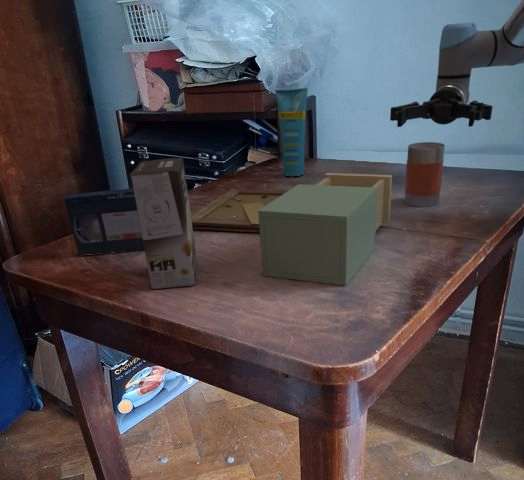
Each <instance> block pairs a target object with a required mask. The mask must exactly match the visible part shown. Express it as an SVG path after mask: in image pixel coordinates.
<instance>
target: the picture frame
mask: <svg viewBox="0 0 524 480" xmlns="http://www.w3.org/2000/svg"><path fill="white" fill-rule="evenodd" d="M289 190H290V189H265V188H263V189H262V188H259V189H258V188H232V189H229V190H228V191H227V192H225V193H224V194H222V195H220V196H219V197H217V198H216V199H214V200H213V201H212V202H210V203H208V204H206V205H205V206H204V207H201V209H199V210H198V211H195V213H193V214H191V221H192V228H193V230H202V231H203V230H205V231H221V232H222V231H223V232H224V231H225V232H241V233H259V234H260V229H259V215H258V210H260V209H261V208H263V207H265V206H266V205H268V204H269V203H271V202H272V201H274V200H275V199H277V198H278V197H280V196H281V195H283V194H284V193H286V192H287V191H289Z"/></svg>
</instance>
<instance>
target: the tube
mask: <svg viewBox="0 0 524 480" xmlns="http://www.w3.org/2000/svg"><path fill="white" fill-rule="evenodd" d="M274 93H275V98H276V105H277V111H278V112H277V113H278V120H279V130H280V131H279V133H280V142H281V154H282V168H283V169H282V170H283V176H284V175H286V176H298V175H302V174H305V141H306V140H305V139H306V115H307V113H306V112H307V100H308V99H307V98H308V87H301V88H300V87H299V88H293V89H292V88H291V89H274ZM286 176H285V177H286Z"/></svg>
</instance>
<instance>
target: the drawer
mask: <svg viewBox="0 0 524 480" xmlns="http://www.w3.org/2000/svg"><path fill="white" fill-rule="evenodd" d="M316 185H327V186H349V187H371V188H377V207H376V231H378V229H379V228H380V227H381V226H382V225H383V224H389V223H390V221H391V205H392V187H393V175H392V174H371V173H370V174H367V173H365V174H364V173H340V172H339V173H337V172H334V173H332V172H327V173H325V174H324V179H322V180H321V181H320V182H318V183H317V184H316Z"/></svg>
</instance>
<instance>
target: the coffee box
mask: <svg viewBox="0 0 524 480" xmlns="http://www.w3.org/2000/svg"><path fill="white" fill-rule="evenodd" d="M130 178H131V184H132V188H133V190H134V195H135V200H136V206H137V211H138V217H139V222H140V227H141V233H142V238H143V244H144V249H145V250H144V255H145V260H146V265H147V270H148V275H149V281H150V287H151V289H152V290H158V289H168V288H178V287H191V286H194V285H195V282H196V281H195V280H196V275H197V274H196V273H197V267H198V258H197V250H196V243H195V242H196V241H195V236H194V229H193V228H192V221H191V215H192V214H191V208H190V199H189V192H188V191H189V190H188V185H187V178H186V170H185V163H184V158H183V157H171V158H170V157H169V158H160V159H153V160H145V161H143V160H142V161H140V162H139V163H138V164H137V166H136V167H135V168H134V169H133V170H132V172H131V173H130Z"/></svg>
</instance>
